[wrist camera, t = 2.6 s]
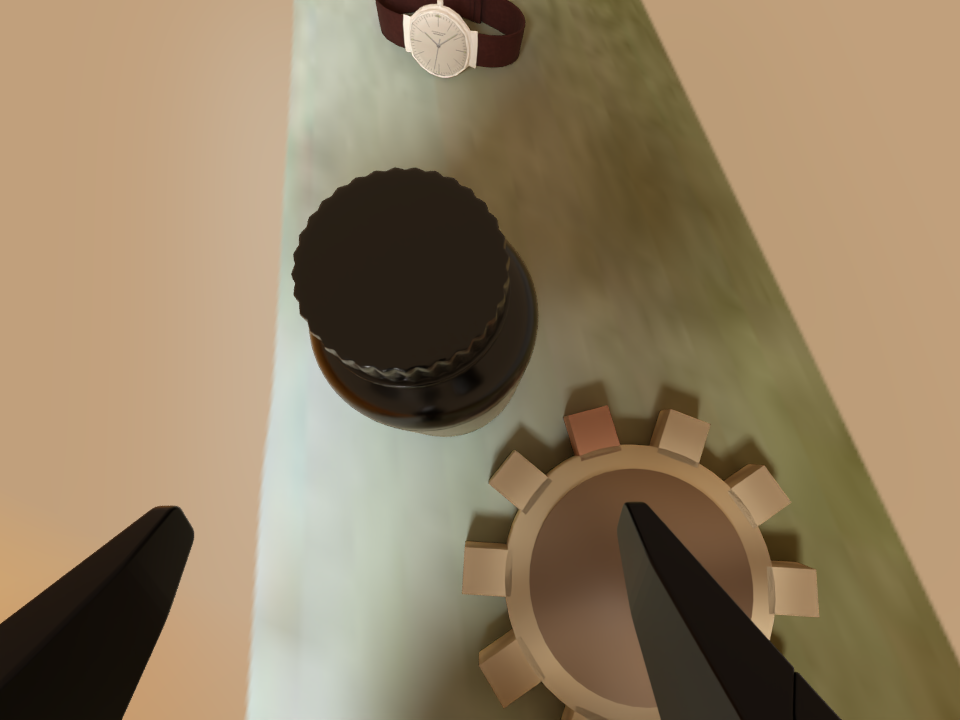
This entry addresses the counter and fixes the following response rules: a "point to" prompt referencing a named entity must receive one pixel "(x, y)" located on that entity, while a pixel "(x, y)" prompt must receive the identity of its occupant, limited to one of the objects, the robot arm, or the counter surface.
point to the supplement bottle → (415, 302)
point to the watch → (453, 32)
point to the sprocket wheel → (618, 560)
